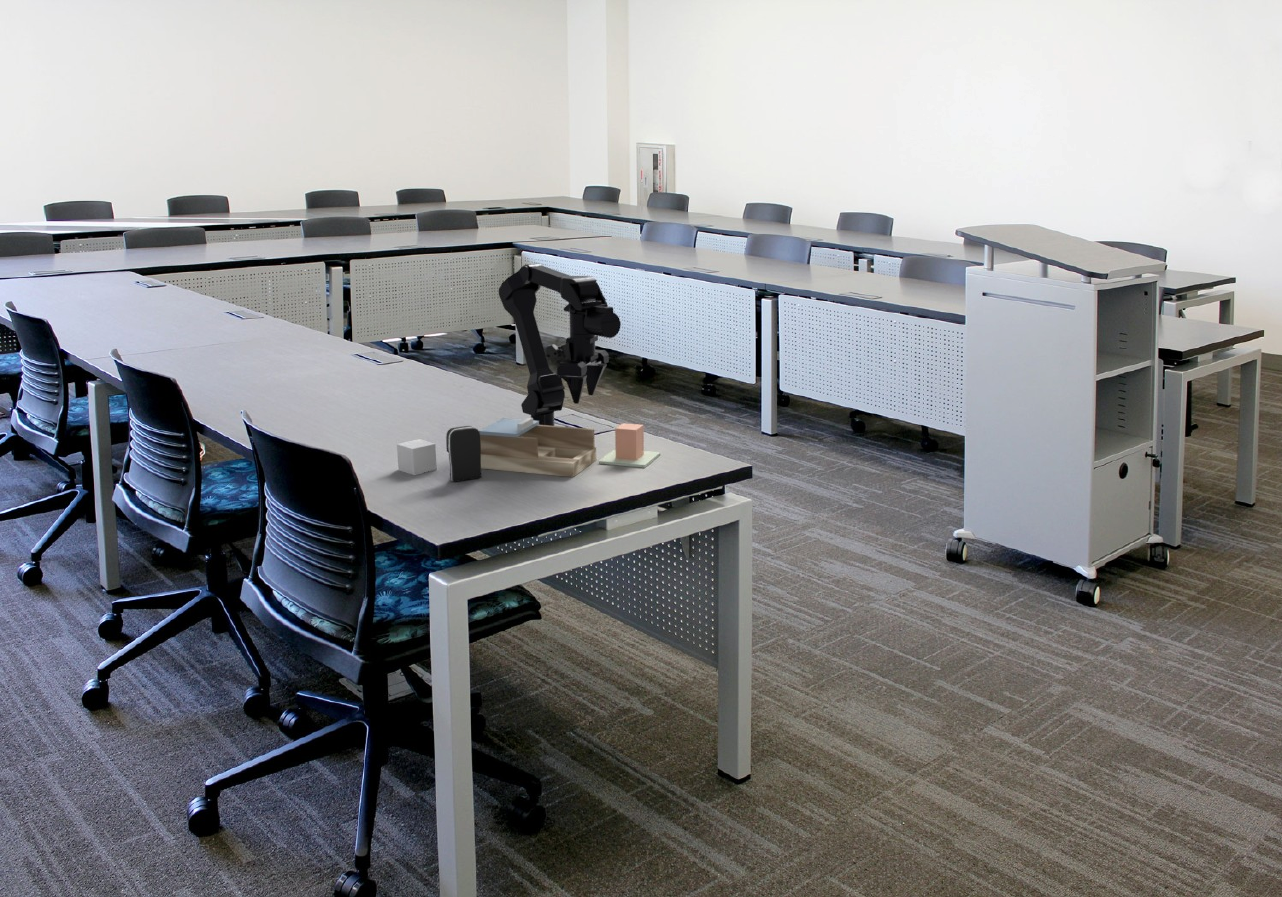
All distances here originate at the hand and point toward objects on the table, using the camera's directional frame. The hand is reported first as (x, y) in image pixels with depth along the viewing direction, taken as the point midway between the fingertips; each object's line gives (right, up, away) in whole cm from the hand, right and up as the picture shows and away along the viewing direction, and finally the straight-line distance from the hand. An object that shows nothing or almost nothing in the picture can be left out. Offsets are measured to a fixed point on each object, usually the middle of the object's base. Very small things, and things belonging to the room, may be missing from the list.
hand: (583, 399), depth 272 cm
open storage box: (-10, -15, -9) cm, 20 cm away
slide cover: (-16, -7, -9) cm, 20 cm away
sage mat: (+11, -14, -5) cm, 18 cm away
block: (+11, -13, -6) cm, 18 cm away
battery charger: (-25, -18, -19) cm, 36 cm away
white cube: (-36, -16, -12) cm, 41 cm away
